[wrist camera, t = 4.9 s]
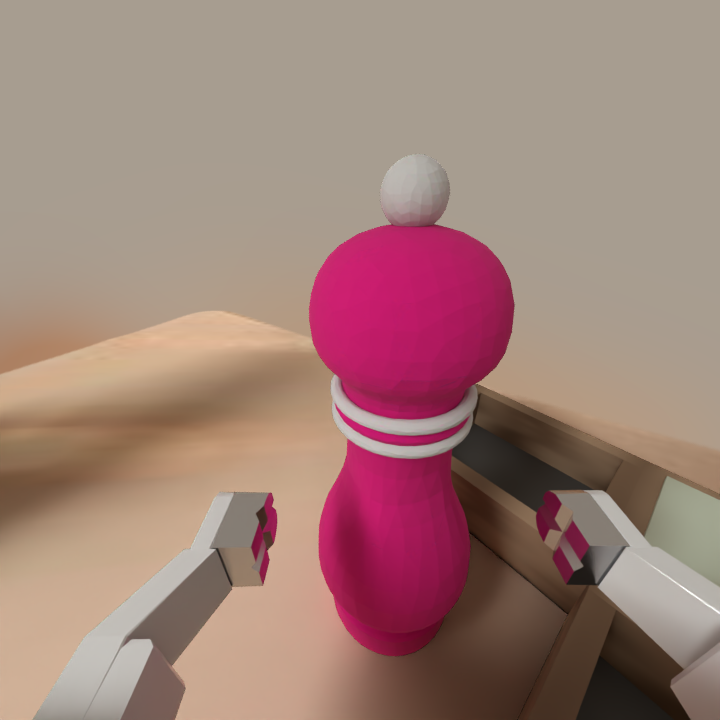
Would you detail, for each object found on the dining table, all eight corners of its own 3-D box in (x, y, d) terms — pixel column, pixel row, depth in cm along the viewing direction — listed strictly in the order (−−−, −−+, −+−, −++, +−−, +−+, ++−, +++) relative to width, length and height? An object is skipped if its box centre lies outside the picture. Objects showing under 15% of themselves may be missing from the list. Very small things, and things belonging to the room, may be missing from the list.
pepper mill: (346, 704, 13) (289, 108, 3) (312, 544, 19) (256, 164, 9) (485, 632, 15) (690, 136, 6) (415, 508, 21) (454, 168, 12)
